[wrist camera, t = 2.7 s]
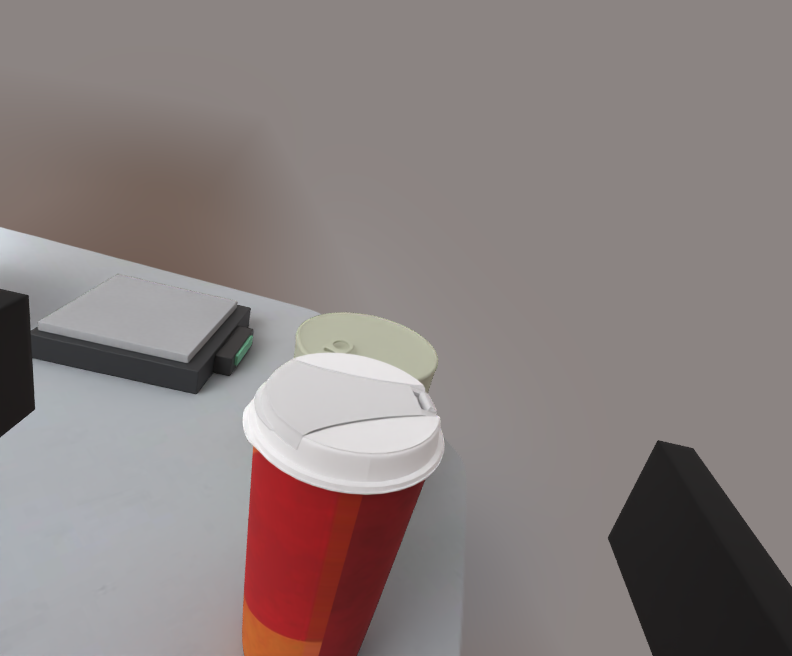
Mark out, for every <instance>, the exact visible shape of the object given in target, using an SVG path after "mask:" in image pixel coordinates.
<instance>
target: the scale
mask: <svg viewBox="0 0 792 656" xmlns="http://www.w3.org/2000/svg"><path fill="white" fill-rule="evenodd" d="M250 310H251V308H249V307H245V306H240V305H237V301H235V300H231V299H226V298H222V297H217V296H213V295H209V294H204V293H200V292H195V291H191V290H187V289H182V288H178V287H173V286H169V285H165V284H160V283H156V282H151V281H147V280H143V279H138V278H134V277H130V276H125V275H121V274H117V275H115V276H113V277H112V278H110V279H108V280H107V281H105V282H103V283H102V284H100V285H98V286H97V287H95V288H93V289H92V290H90V291H88V292H86V293H85V294H83V295H81V296H80V297H78V298H76V299H75V300H73V301H71V302H70V303H68V304H66V305H65V306H63V307H61V308H60V309H58V310H56V311H55V312H53V313H51V314H50V315H48V316H46V317H45V318H43V319H41V320H40V321H38V327H36V328H35V329H33V330H31V347H32V358H36V359H40V360H45V361H49V362H54V363H58V364H63V365H67V366H72V367H77V368H81V369H86V370H90V371H95V372H99V373H104V374H108V375H113V376H117V377H122V378H126V379H131V380H135V381H140V382H144V383H149V384H153V385H158V386H162V387H167V388H171V389H176V390H180V391H185V392H189V393H194V394H197V393H198V391H199V390H200V389H201V388H202V386H203V385H204V384H205V382H206V381H207V380H208V378H209V377H210V376H211V374H212V373H213V372H215V373H219V374H224V375H228V376H230V375H231V374H232V372H233V371H234V369H235V368H236V366H237V365H238V364H239V362H240V361H241V359H242V358H243V356H244V355H245V354H246V352H247V351H248V349H249V348H250V346H251V345H252V339H253V329H250V328H248V326H249V318H250Z"/></svg>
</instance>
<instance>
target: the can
mask: <svg viewBox="0 0 792 656" xmlns="http://www.w3.org/2000/svg"><path fill="white" fill-rule="evenodd" d="M315 353H346V354H354V355H359V356H365V357H368V358H372V359H376V360H379V361H382V362H385V363H388V364H390V365H392V366H394V367H397V368H399V369H401V370H402V371H404V372H406V373H408V374H410V375H411V376H412V377H414V378H415V379H417V380H418V381H419V382H420V383H422V384H423V385H424V387H425V392H426V393H428V391H429V388H430V385H431V382H432V379H433V376H434V373H435V371H436V369H437V366H438V356H437V353H436V351H435V350H434V348H433V347H432V345H431V344H430V343H429V342H428V341H427V340H426V339H424V338H423V337H422V336H421V335H419V334H418V333H416V332H415V331H413V330H411V329H409V328H407V327H405V326H403V325H400V324H398V323H395V322H393V321H390V320H387V319H383V318H380V317H376V316H371V315H366V314H359V313H328V314H322V315H318V316H315V317H312V318H310V319H308V320H306V321H305V322H303V323H302V324H301V325H300V326H299V328H298V330H297V332H296V344H295V352H294V358H296V357H299V356H303V355H307V354H315Z"/></svg>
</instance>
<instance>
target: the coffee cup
mask: <svg viewBox="0 0 792 656" xmlns="http://www.w3.org/2000/svg"><path fill="white" fill-rule="evenodd" d="M436 412H437V409H436V407H435V405H434V403H433V401H432V400H431V397H430V396H429V394H428V393H426V392H425V387H424V385H423V384H422V383H420V382H419V381H418V380H417V379H415V378H414V377H412V376H411V375H410V374H408V373H406V372H404V371H402V370H401V369H399V368H397V367H394V366H392V365H390V364H388V363H385V362H382V361H379V360H376V359H372V358H368V357H365V356H359V355H354V354H346V353H315V354H307V355H303V356H299V357H296V358H293V359H291V360H290V361H288V362H286V363H285V364H283V365H282V366H280V367H279V368H278V369H276V370H275V371H274V372H273V373H272V375H271V376H270V378H269V380H266V381H265V382H264V383H263V384H262V385H261V386H260V388H259V389H258V390H257V392H256V394H255V397H254V399H253V400H252V401H251V402H250V403H249V404H248V406H247V407H246V408H245V409H244V413H243V428H244V432H245V435H246V437H247V440H248V441H249V442H250V443H251V444H252V445H253V458H252V474H251V489H250V504H249V519H248V535H247V551H246V567H245V584H244V602H243V625H242V643H243V651H244V656H357V654H358V652H359V649H360V647H361V645H362V642H363V640H364V637H365V635H366V632H367V630H368V627H369V625H370V622H371V620H372V617H373V615H374V612H375V609H376V607H377V604H378V602H379V599H380V597H381V594H382V591H383V589H384V586H385V584H386V581H387V578H388V576H389V573H390V571H391V568H392V565H393V563H394V560H395V557H396V555H397V552H398V550H399V547H400V544H401V542H402V539H403V536H404V534H405V531H406V529H407V526H408V523H409V521H410V518H411V515H412V513H413V510H414V508H415V505H416V502H417V500H418V497H419V495H420V492H421V489H422V487H423V484H424V481H425V479H426V478H427V477H428V476H430V475H431V474H432V473H433V472H434V471H435V469H436V468H437V467H438V465H439V464H440V462H441V459H442V457H443V454H444V446H445V444H444V437H443V433H442V430H441V427H440V424H441V419H440V417H438V416H437V414H436Z"/></svg>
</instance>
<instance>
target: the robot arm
mask: <svg viewBox="0 0 792 656" xmlns="http://www.w3.org/2000/svg"><path fill="white" fill-rule="evenodd" d="M34 410H35V399H34V382H33V365H32V347H31V330H30V312H29V295H25V294H20V293H16V292H12V291H7V290H3V289H0V437H1V436H3V435H4V434H5V433H6V432H8V431H9V430H10V429H11V428H12V427H14V426H15V425H16V424H17V423H19V422H20V421H21V420H22V419H24V418H25V417H26V416H27V415H29V414H30V413H31V412H32V411H34ZM608 540H609V542H610V544H611V547H612V550H613V553H614V555H615V558H616V560H617V563H618V566H619V568H620V571H621V574H622V576H623V579H624V581H625V584H626V587H627V589H628V592H629V595H630V597H631V600H632V602H633V605H634V608H635V610H636V613H637V615H638V618H639V621H640V623H641V626H642V629H643V631H644V634H645V636H646V639H647V642H648V644H649V647H650V650H651V652H652V655H653V656H792V587H791V585H790V584H789V582H788V581H787V580H786V578H785V577H784V575H783V574H782V573H781V571H780V570H779V568H778V567H777V565H776V564H775V563H774V561H773V560H772V558H771V557H770V556H769V554H768V553H767V551H766V550H765V549H764V547H763V546H762V544H761V543H760V542H759V540H758V539H757V537H756V536H755V535H754V533H753V532H752V530H751V529H750V528H749V526H748V525H747V523H746V522H745V521H744V519H743V518H742V516H741V515H740V513H739V512H738V511H737V509H736V508H735V506H734V505H733V504H732V502H731V501H730V499H729V498H728V497H727V495H726V494H725V492H724V491H723V490H722V488H721V487H720V485H719V484H718V483H717V481H716V480H715V478H714V477H713V476H712V474H711V473H710V471H709V470H708V468H707V467H706V466H705V464H704V463H703V461H702V460H701V459H700V457H699V456H698V454H697V453H696V452H695V450H694V449H693V448H689V447H685V446H681V445H676V444H672V443H667V442H663V441H659V440H658V441H657V443H656V445H655V447H654V449H653V450H652V453H651V454H650V456H649V458H648V460H647V462H646V464H645V466H644V468H643V470H642V472H641V474H640V476H639V478H638V480H637V482H636V484H635V486H634V488H633V490H632V492H631V493H630V495H629V497H628V499H627V501H626V503H625V505H624V507H623V509H622V511H621V513H620V515H619V517H618V519H617V521H616V523H615V525H614V527H613V529H612V531H611V533H610V534H609V537H608Z"/></svg>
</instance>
